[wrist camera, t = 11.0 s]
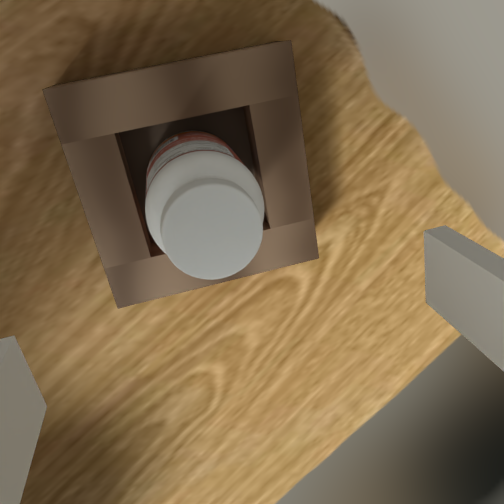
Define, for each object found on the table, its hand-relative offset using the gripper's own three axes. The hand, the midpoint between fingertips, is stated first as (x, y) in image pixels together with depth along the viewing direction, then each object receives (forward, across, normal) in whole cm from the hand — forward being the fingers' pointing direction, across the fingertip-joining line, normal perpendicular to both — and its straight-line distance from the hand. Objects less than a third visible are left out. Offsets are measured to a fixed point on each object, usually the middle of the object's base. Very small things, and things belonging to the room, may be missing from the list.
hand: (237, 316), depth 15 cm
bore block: (+19, 0, 0) cm, 19 cm away
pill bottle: (+18, 0, 0) cm, 18 cm away
